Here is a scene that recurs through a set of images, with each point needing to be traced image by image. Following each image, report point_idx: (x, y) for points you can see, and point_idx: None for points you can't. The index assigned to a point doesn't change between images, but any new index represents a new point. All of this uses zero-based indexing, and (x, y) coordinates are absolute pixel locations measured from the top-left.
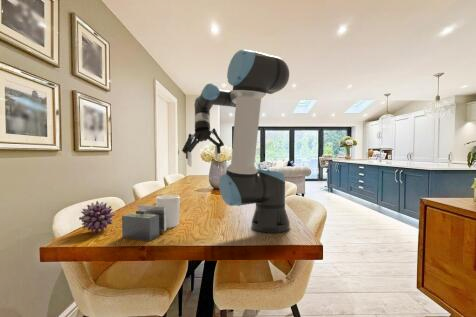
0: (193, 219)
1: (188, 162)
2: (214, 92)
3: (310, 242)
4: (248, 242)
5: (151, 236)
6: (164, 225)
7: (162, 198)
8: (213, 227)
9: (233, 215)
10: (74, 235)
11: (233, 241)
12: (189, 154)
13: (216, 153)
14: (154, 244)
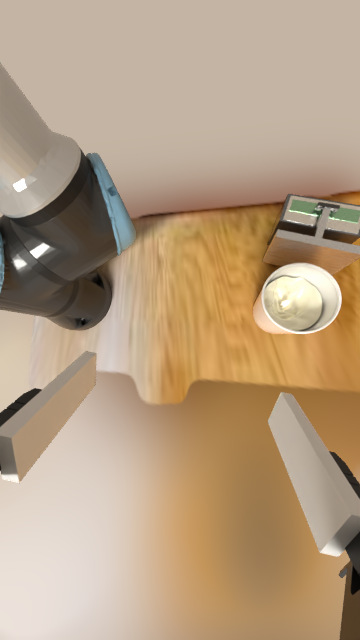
0: (228, 356)
1: (289, 400)
2: None
3: None
4: None
5: (275, 222)
6: (266, 251)
7: (325, 321)
8: (177, 297)
9: (140, 386)
10: None
11: (143, 232)
12: (323, 479)
13: (64, 373)
14: (260, 211)
